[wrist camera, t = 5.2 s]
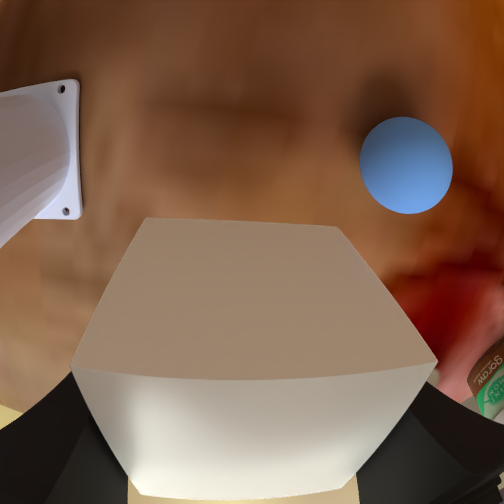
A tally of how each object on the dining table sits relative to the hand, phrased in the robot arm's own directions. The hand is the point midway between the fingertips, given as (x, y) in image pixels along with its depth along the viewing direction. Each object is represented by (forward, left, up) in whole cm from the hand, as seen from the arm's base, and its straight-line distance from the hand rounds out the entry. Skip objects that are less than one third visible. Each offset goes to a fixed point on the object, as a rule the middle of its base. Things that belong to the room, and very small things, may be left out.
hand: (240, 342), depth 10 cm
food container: (+32, -16, -9) cm, 37 cm away
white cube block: (0, 0, -2) cm, 2 cm away
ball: (+8, +5, -6) cm, 12 cm away
